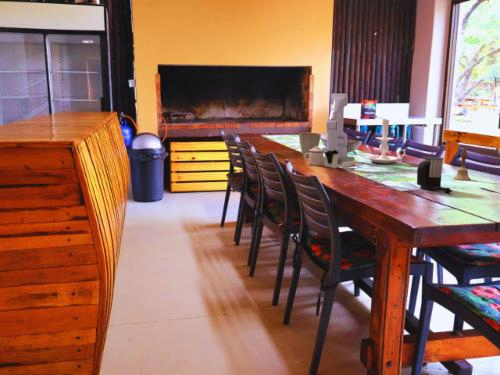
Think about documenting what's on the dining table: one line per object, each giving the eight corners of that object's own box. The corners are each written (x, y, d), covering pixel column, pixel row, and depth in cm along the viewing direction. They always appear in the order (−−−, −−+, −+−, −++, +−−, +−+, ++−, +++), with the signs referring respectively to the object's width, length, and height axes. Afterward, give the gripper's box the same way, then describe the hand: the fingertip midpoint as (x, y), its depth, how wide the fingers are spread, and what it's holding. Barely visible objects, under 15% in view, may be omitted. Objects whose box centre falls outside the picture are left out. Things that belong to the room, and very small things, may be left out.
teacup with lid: (322, 163, 286) (323, 145, 284) (323, 166, 277) (324, 146, 275) (303, 163, 287) (304, 144, 285) (303, 165, 278) (304, 146, 276)
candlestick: (411, 165, 282) (415, 119, 276) (372, 165, 281) (375, 119, 275) (399, 160, 302) (402, 117, 296) (362, 160, 301) (364, 117, 295)
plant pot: (296, 158, 310) (296, 134, 307) (300, 155, 324) (301, 132, 321) (318, 159, 306) (319, 135, 302) (321, 156, 320) (322, 133, 316)
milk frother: (424, 186, 221) (426, 155, 218) (458, 190, 211) (461, 158, 208) (413, 190, 210) (415, 158, 207) (448, 196, 200) (452, 162, 197)
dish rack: (339, 162, 292) (340, 155, 291) (356, 164, 283) (356, 157, 282) (326, 164, 282) (326, 157, 282) (342, 167, 274) (343, 159, 273)
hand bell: (460, 181, 233) (464, 150, 229) (449, 178, 240) (452, 148, 237) (474, 180, 235) (477, 149, 232) (463, 177, 243) (466, 147, 239)
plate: (326, 166, 278) (327, 152, 276) (337, 167, 272) (337, 154, 270) (324, 166, 276) (324, 153, 275) (335, 168, 271) (335, 154, 269)
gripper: (330, 142, 263) (329, 165, 266) (344, 140, 273) (343, 162, 276) (320, 141, 268) (319, 164, 271) (335, 139, 278) (334, 161, 281)
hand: (331, 163), depth 274 cm, fingers closed on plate, 2 cm apart
